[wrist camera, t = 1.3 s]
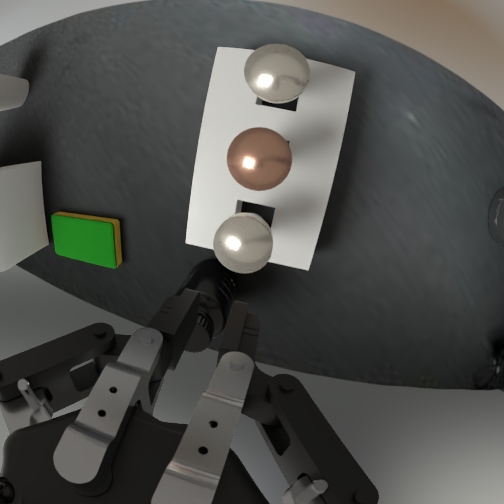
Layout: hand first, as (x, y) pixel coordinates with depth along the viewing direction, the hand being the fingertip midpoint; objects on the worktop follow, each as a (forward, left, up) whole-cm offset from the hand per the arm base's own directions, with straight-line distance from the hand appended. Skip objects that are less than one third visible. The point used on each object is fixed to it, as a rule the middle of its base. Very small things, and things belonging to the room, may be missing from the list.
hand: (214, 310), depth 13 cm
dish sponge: (+26, +9, -22) cm, 35 cm away
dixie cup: (+48, -16, -21) cm, 55 cm away
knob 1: (0, 0, -15) cm, 15 cm away
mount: (0, -7, -21) cm, 22 cm away
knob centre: (0, -7, -15) cm, 16 cm away
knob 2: (0, -14, -15) cm, 20 cm away
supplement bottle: (+4, +11, -21) cm, 24 cm away
